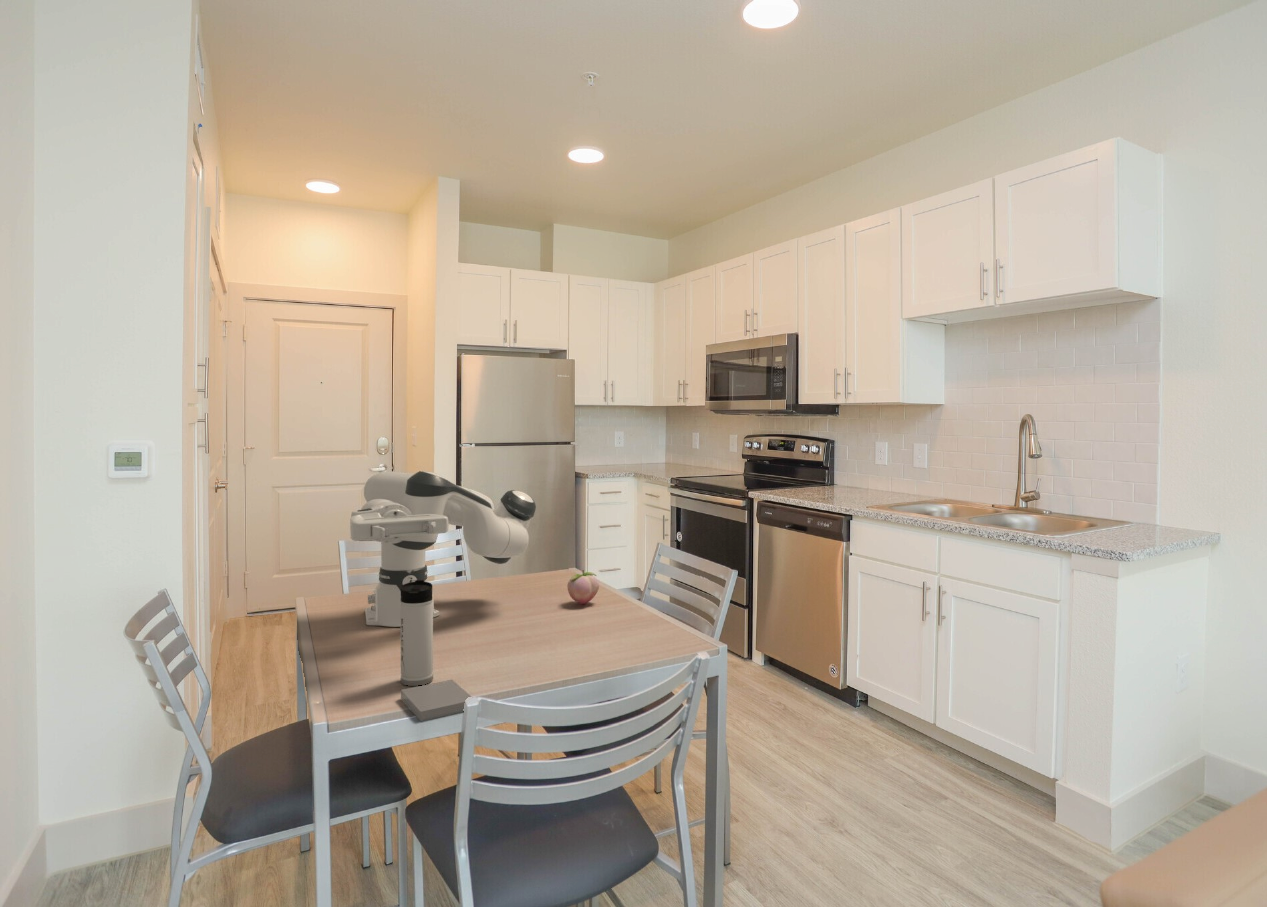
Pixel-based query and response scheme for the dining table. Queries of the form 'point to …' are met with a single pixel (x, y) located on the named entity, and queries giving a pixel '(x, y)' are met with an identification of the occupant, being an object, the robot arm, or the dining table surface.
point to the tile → (435, 699)
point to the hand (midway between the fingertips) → (409, 531)
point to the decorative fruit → (583, 587)
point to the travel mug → (416, 633)
